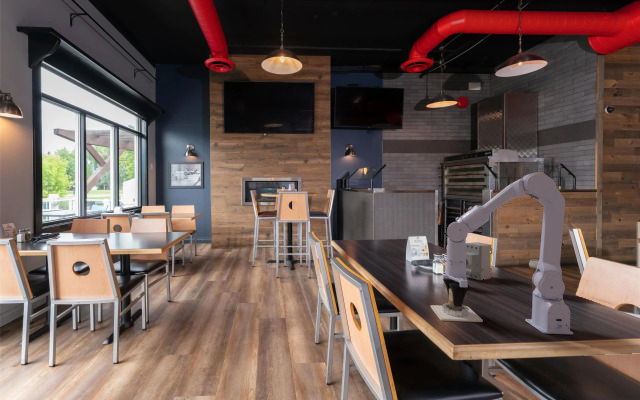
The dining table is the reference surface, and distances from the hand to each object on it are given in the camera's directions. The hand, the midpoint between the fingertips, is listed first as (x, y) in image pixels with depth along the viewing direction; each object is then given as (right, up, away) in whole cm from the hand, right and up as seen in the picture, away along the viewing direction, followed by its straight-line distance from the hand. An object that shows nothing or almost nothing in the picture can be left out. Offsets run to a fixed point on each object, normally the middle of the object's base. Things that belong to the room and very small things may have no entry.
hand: (455, 303), depth 108 cm
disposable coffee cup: (+42, -3, +24) cm, 49 cm away
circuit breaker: (+26, -2, +46) cm, 52 cm away
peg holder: (0, -3, 0) cm, 3 cm away
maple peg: (0, -2, 0) cm, 2 cm away
